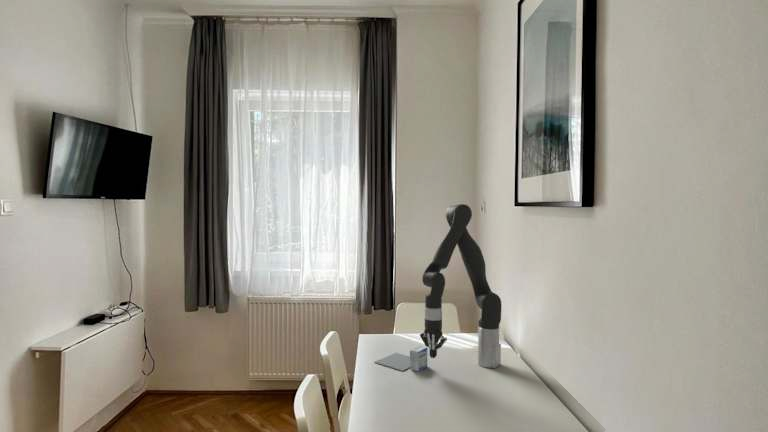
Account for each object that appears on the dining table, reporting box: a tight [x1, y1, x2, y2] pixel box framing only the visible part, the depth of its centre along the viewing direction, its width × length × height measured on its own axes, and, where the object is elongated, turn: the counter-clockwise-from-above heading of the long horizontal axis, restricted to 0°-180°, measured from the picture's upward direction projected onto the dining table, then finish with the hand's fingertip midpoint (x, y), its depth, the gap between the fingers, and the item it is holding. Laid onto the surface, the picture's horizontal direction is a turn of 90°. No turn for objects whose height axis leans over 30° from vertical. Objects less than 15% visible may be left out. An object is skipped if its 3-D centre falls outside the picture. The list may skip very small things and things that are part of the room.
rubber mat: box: [374, 352, 410, 373], centre depth 189 cm, size 16×16×1 cm
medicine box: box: [409, 345, 428, 373], centre depth 182 cm, size 8×4×9 cm, turn 143°
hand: (433, 357), depth 177 cm, fingers closed
